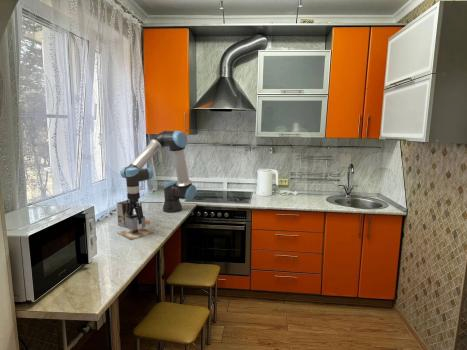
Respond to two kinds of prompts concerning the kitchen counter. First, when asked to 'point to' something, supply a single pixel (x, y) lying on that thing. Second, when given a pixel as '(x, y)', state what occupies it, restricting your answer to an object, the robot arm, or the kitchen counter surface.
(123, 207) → the coffee box
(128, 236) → the post board
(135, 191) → the robot arm
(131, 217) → the square sleeve with handle
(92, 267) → the kitchen counter surface
